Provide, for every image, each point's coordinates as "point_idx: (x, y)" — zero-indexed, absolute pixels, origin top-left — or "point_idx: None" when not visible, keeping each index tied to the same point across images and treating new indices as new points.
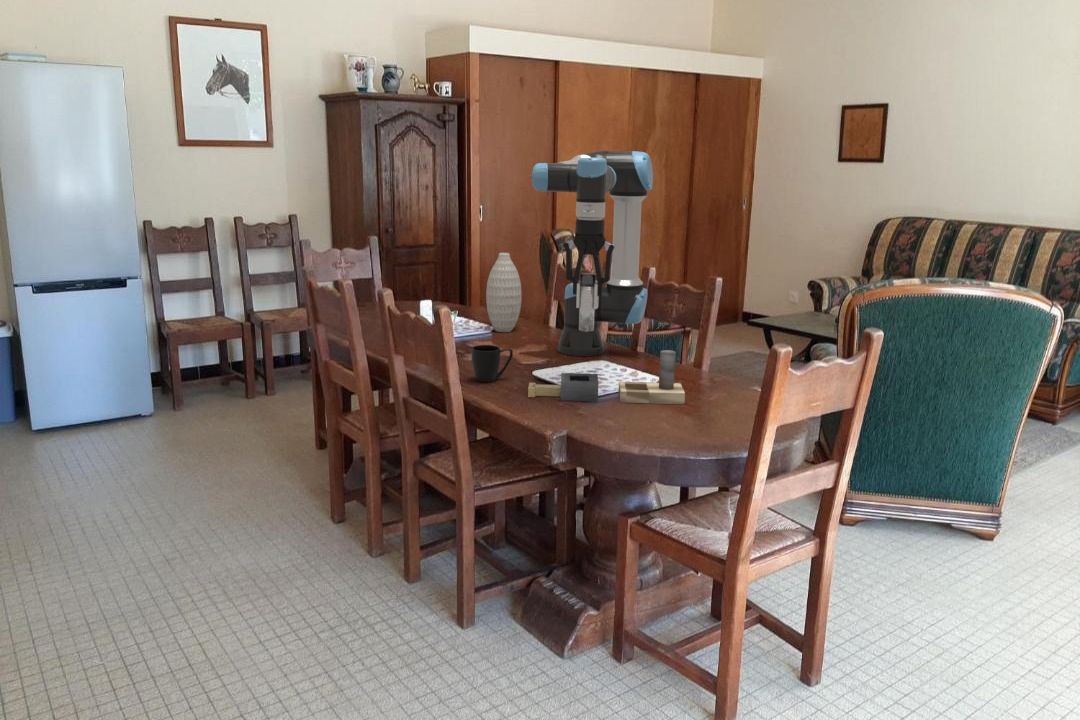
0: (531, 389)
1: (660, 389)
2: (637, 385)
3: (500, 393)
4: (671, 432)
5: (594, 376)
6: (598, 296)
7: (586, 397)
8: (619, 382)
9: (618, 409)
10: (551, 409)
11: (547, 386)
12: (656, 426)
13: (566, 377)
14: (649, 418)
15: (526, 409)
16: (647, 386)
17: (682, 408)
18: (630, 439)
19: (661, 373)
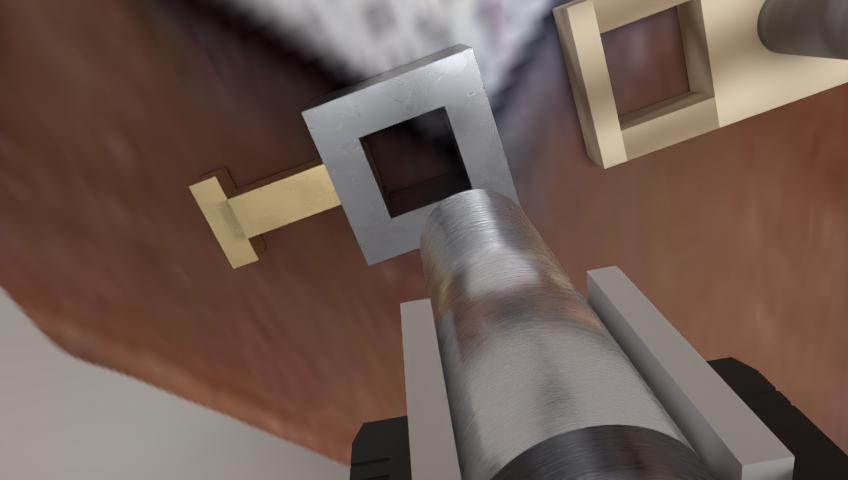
0: (246, 262)
1: (765, 58)
2: (655, 12)
3: (117, 250)
4: (779, 372)
5: (472, 103)
6: (672, 329)
7: None
8: (572, 24)
9: (596, 240)
10: (381, 336)
11: (288, 205)
12: (735, 344)
13: (357, 179)
14: (709, 284)
15: (306, 370)
16: (706, 35)
17: (822, 126)
18: None
19: (818, 52)
